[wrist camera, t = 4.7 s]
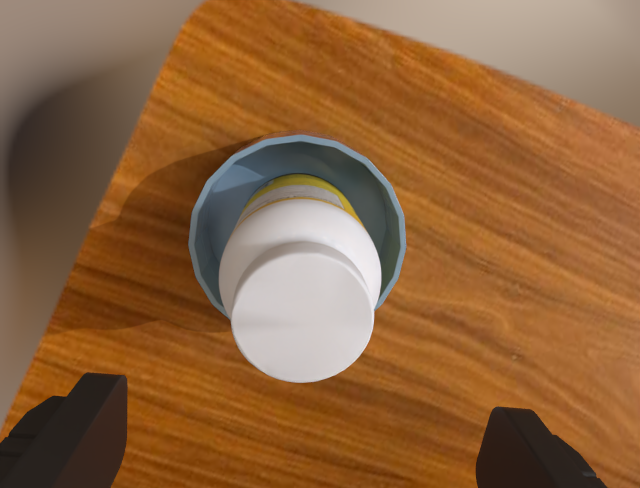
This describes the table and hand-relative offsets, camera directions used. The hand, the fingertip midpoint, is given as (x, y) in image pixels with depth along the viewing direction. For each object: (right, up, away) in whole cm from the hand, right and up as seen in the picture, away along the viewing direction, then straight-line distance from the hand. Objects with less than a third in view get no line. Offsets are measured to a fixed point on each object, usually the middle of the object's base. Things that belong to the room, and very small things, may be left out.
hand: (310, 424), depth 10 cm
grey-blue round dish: (-1, +5, +16) cm, 17 cm away
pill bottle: (-1, +5, +16) cm, 17 cm away
